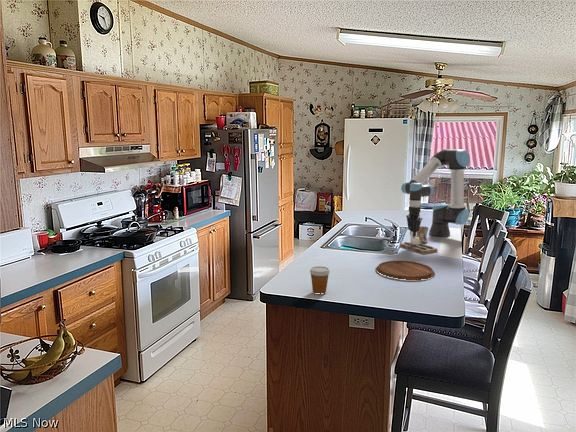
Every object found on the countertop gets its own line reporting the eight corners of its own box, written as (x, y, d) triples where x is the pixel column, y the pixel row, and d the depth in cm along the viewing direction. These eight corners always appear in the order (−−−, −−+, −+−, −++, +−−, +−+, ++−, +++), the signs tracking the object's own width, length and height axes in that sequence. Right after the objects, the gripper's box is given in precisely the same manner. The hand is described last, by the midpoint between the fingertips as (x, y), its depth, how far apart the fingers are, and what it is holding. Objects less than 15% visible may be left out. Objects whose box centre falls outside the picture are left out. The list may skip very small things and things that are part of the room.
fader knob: (411, 244, 305) (411, 237, 304) (415, 243, 307) (416, 236, 306) (414, 245, 302) (414, 237, 302) (418, 244, 304) (419, 237, 303)
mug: (429, 241, 323) (430, 227, 321) (426, 244, 315) (427, 229, 313) (412, 239, 329) (413, 225, 327) (408, 242, 321) (409, 227, 319)
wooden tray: (399, 246, 309) (399, 241, 309) (412, 244, 315) (413, 239, 314) (423, 254, 290) (424, 249, 290) (437, 251, 296) (437, 247, 295)
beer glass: (308, 289, 225) (308, 266, 223) (327, 289, 226) (327, 265, 223) (310, 296, 215) (311, 272, 213) (330, 295, 216) (331, 271, 214)
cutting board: (402, 285, 233) (402, 280, 232) (364, 268, 260) (364, 264, 260) (447, 276, 247) (448, 272, 247) (407, 261, 275) (407, 257, 274)
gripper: (403, 205, 306) (401, 239, 310) (417, 208, 294) (415, 243, 299) (412, 204, 309) (410, 238, 314) (426, 207, 298) (424, 242, 302)
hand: (412, 240), depth 306 cm, fingers closed
